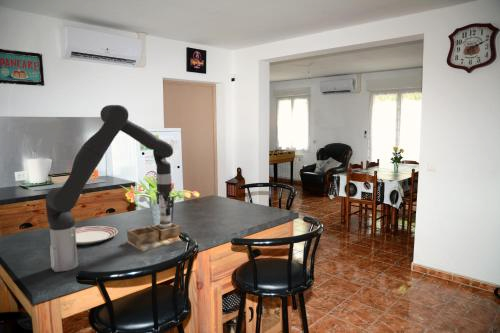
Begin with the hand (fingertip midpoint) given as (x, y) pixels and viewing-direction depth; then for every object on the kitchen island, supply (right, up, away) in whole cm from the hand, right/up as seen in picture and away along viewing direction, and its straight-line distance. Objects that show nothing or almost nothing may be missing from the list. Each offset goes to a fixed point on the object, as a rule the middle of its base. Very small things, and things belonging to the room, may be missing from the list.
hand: (165, 214), depth 185 cm
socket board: (-3, -13, -4) cm, 14 cm away
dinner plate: (-39, -13, 0) cm, 41 cm away
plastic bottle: (0, -10, +1) cm, 10 cm away
